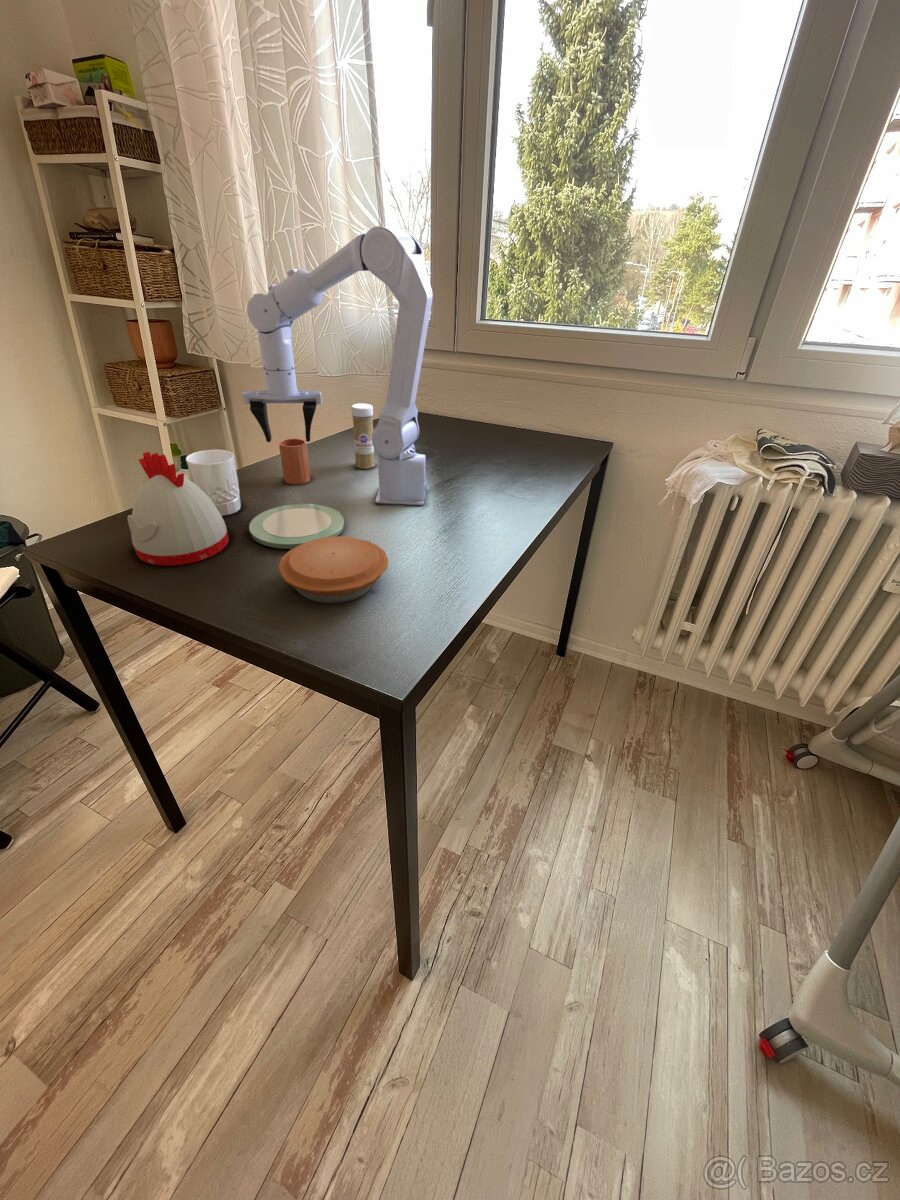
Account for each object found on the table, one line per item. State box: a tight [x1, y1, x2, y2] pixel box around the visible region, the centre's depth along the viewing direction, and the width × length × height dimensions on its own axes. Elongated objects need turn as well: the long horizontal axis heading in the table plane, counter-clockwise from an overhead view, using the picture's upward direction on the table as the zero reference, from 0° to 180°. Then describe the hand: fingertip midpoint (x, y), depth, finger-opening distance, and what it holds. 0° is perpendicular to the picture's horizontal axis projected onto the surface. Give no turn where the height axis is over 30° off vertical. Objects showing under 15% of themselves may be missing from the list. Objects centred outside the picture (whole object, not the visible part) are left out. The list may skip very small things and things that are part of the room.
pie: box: [278, 535, 389, 604], centre depth 74 cm, size 16×16×5 cm
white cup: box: [185, 449, 242, 517], centre depth 92 cm, size 8×8×10 cm
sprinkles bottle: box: [350, 402, 376, 470], centre depth 113 cm, size 5×5×13 cm
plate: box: [248, 503, 345, 550], centre depth 89 cm, size 16×16×1 cm
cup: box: [278, 437, 311, 485], centre depth 106 cm, size 5×5×8 cm
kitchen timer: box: [126, 451, 230, 566], centre depth 79 cm, size 14×14×15 cm
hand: (288, 440), depth 103 cm, fingers open, 7 cm apart
